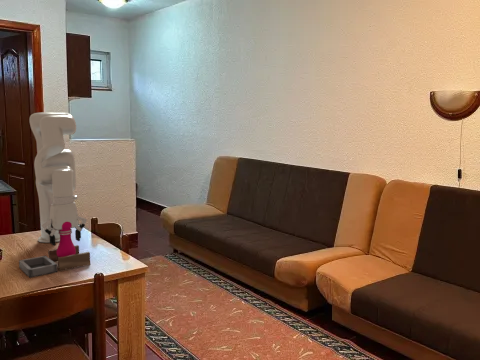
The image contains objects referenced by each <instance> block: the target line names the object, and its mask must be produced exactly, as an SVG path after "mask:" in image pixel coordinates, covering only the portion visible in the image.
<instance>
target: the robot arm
mask: <svg viewBox="0 0 480 360" xmlns="http://www.w3.org/2000/svg"><path fill="white" fill-rule="evenodd" d="M29 125H30V129H31V132H32V134H33V136H34V139H35V141H36V152H37V153H36V156H35V157H34V164H33V165H34V167H33V168H34V174H35V186H36V191H37V196H38V203H39V204H38V205H39V207H38V208H39V218H40V219H39V221H40V236H38V238H37V241H38V242H40V243H44V244H45V243H46V244H51V246H53V247H55V246H56V243H60V234H58V233H59V232H58V231H59V230H62V225H63V223H64V222H70V223H71V224H72V227H71V229H73V228H74V229H75V230H74V234H75V240H76V241H77V242H81V239H82V233H81V231H83V229H84V227H85V226H86V223H87V221H88V219H87V218H85V217H82V216H79V212H78V207H77V203H76V200H77V199H78V195H74V192H75V190H76V188H77V178H76V177H77V175H76V160H75V154H74V152H73V151H72V150H70V149H65V148H66V143H65V139H64V136H67V135H69V136H71V135H75V134H76V132H77V123H76V119H75V117H74V116H73V115H72V114H70V113H69V112H49V111H48V112H45V111H42V112H34V113H32V114H31V115H29ZM80 221H81V223H80Z"/></svg>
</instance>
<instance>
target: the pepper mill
mask: <svg viewBox="0 0 480 360" xmlns="http://www.w3.org/2000/svg"><path fill="white" fill-rule="evenodd" d="M71 227H72V224H71V223H70V222H64V223H63V225H62V230H59V231H58V232H59V233H58V234H60V241H59V242H58V246H57V248H56V249H57V256H58V257H64V256H69V255H75V254H76V249H75V246H76V245H74V243H73V240H72V233H73V230H72V229H73V228H71Z"/></svg>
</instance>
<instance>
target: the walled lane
mask: <svg viewBox="0 0 480 360" xmlns="http://www.w3.org/2000/svg"><path fill="white" fill-rule="evenodd" d="M74 246H75V249H76V254H75V255H69V256H64V257H58V256H57V248H55V249H49V250H48V251H47V252H48V255H47V257H48V258H49V259H51V260H52V261H53V262H55V263H56V264H57V269H58V271H59V272H62V271H63V272H64V271H67V270H72V269H77V268H81V267H85V266H90V265H91V252H90V251H85V252H81V253H80V245H78V244H76V245H74Z"/></svg>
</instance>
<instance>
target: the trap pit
mask: <svg viewBox="0 0 480 360" xmlns="http://www.w3.org/2000/svg"><path fill="white" fill-rule="evenodd" d="M18 269H20V270H21V271H22V272H23V273H24V274H25V275H26V276H27V277H28V278H29V279H31V278H36V277H40V276H44V275H45V276H46V275H49V274H50V275H51V274H55V273H58V267H57V264H56V263H55V262H53V261H52V260H51V259H49V256H48V255H41V256H35V257H31V258H24V259H19V260H18Z"/></svg>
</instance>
